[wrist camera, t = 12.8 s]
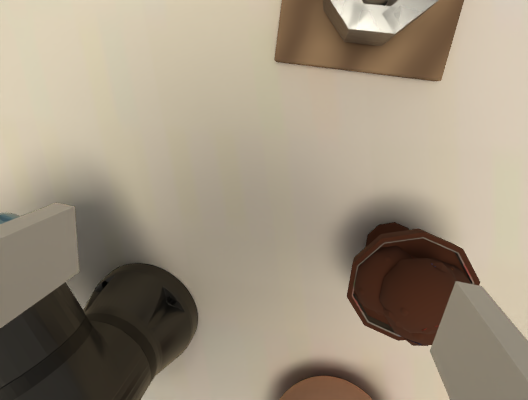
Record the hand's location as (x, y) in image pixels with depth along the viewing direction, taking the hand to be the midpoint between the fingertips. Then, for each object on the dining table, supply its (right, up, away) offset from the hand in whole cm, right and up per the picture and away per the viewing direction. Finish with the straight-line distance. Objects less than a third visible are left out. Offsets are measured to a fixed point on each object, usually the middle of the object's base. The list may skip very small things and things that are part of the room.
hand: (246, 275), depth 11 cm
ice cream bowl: (+15, -2, +27) cm, 31 cm away
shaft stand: (+11, +21, +20) cm, 31 cm away
